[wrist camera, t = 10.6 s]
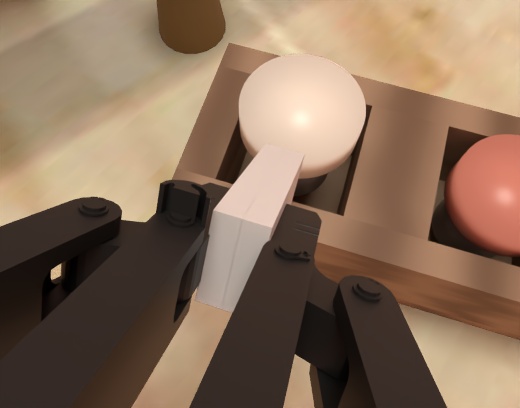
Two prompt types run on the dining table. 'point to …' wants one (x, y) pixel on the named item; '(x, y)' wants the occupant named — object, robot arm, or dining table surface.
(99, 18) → the dining table surface
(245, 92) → the ivory button
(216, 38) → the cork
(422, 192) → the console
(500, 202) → the red button
